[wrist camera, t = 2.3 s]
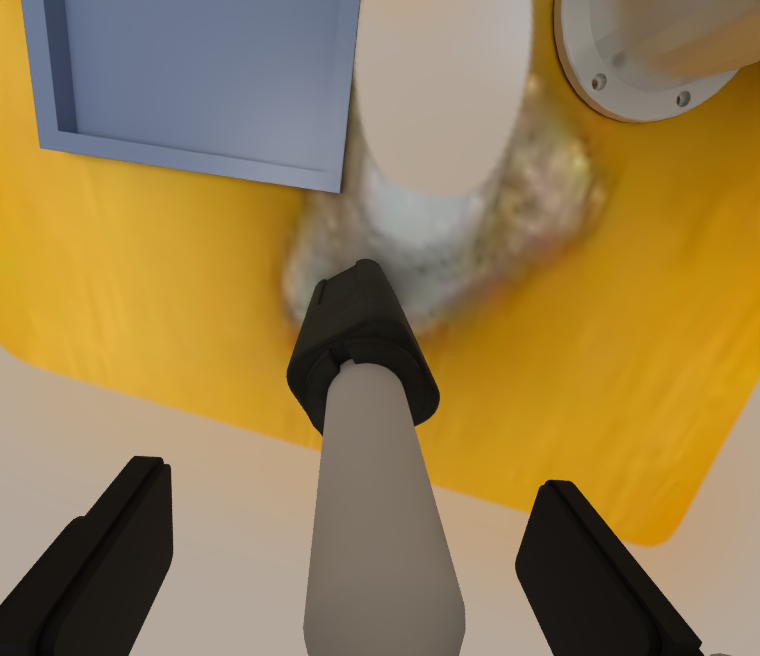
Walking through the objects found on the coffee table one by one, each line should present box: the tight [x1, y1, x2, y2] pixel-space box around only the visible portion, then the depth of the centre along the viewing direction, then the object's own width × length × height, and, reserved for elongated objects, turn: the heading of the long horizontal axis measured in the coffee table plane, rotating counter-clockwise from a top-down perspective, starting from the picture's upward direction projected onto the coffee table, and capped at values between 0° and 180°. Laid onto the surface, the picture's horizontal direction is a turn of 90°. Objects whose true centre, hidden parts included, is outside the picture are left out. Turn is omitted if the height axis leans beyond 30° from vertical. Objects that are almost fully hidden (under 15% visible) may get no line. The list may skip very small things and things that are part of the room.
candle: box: [286, 259, 465, 656], centre depth 15 cm, size 5×5×25 cm
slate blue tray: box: [21, 0, 360, 193], centre depth 20 cm, size 16×16×2 cm
